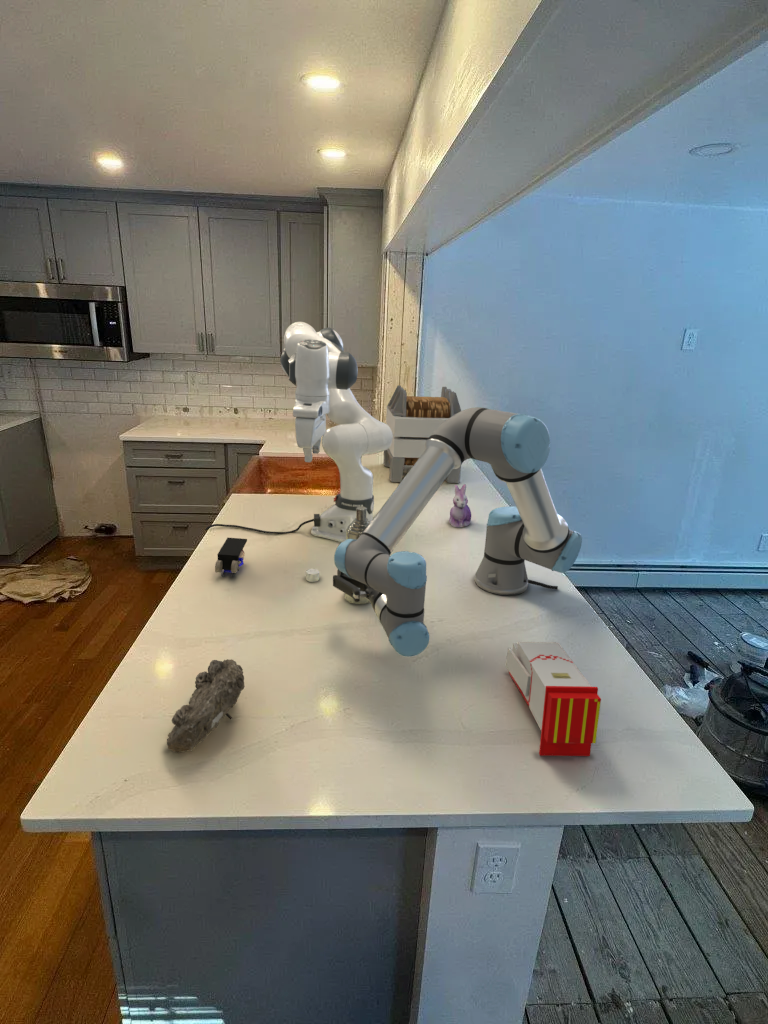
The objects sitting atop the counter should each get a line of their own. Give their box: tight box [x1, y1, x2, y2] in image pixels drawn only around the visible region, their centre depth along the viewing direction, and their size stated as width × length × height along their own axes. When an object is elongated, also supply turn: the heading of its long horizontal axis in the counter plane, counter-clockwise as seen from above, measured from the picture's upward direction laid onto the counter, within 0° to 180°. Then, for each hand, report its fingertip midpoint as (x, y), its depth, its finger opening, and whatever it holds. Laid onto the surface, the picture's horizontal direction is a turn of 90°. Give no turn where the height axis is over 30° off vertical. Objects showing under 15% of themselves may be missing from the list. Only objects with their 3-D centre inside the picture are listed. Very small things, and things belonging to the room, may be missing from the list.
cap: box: [305, 568, 320, 583], centre depth 164 cm, size 4×4×2 cm
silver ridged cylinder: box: [344, 506, 370, 605], centre depth 151 cm, size 8×8×26 cm
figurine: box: [448, 483, 472, 528], centre depth 209 cm, size 9×10×15 cm
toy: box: [505, 641, 602, 757], centre depth 113 cm, size 12×13×30 cm
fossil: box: [166, 658, 245, 754], centre depth 106 cm, size 22×10×15 cm
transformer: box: [383, 384, 462, 484], centre depth 268 cm, size 34×33×41 cm
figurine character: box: [214, 537, 248, 578], centre depth 166 cm, size 7×8×15 cm
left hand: (312, 457), depth 152 cm, fingers open, 8 cm apart
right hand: (367, 562), depth 142 cm, fingers open, 13 cm apart
